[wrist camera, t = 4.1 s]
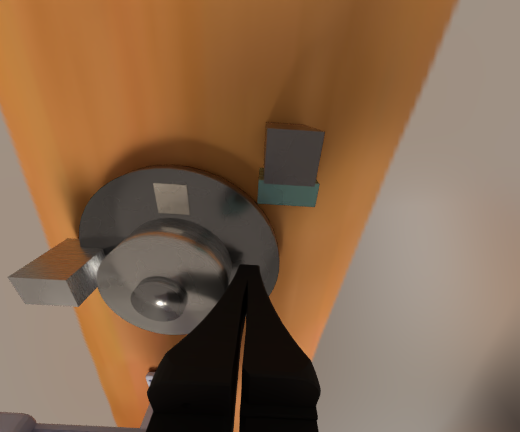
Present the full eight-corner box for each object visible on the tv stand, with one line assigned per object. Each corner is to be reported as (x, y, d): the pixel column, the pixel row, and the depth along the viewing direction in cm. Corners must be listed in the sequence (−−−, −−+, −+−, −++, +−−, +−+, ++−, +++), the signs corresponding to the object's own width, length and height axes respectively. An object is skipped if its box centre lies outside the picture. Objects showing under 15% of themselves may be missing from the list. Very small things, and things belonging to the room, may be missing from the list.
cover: (231, 304, 15) (223, 347, 13) (136, 297, 15) (107, 340, 12) (233, 222, 12) (223, 256, 9) (113, 213, 12) (67, 244, 9)
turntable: (270, 322, 18) (271, 370, 14) (99, 312, 17) (61, 359, 14) (289, 172, 12) (299, 196, 8) (31, 155, 12) (-61, 173, 8)
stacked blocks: (299, 177, 12) (315, 208, 8) (259, 174, 12) (257, 204, 8) (307, 124, 11) (330, 132, 7) (262, 121, 11) (261, 127, 7)
